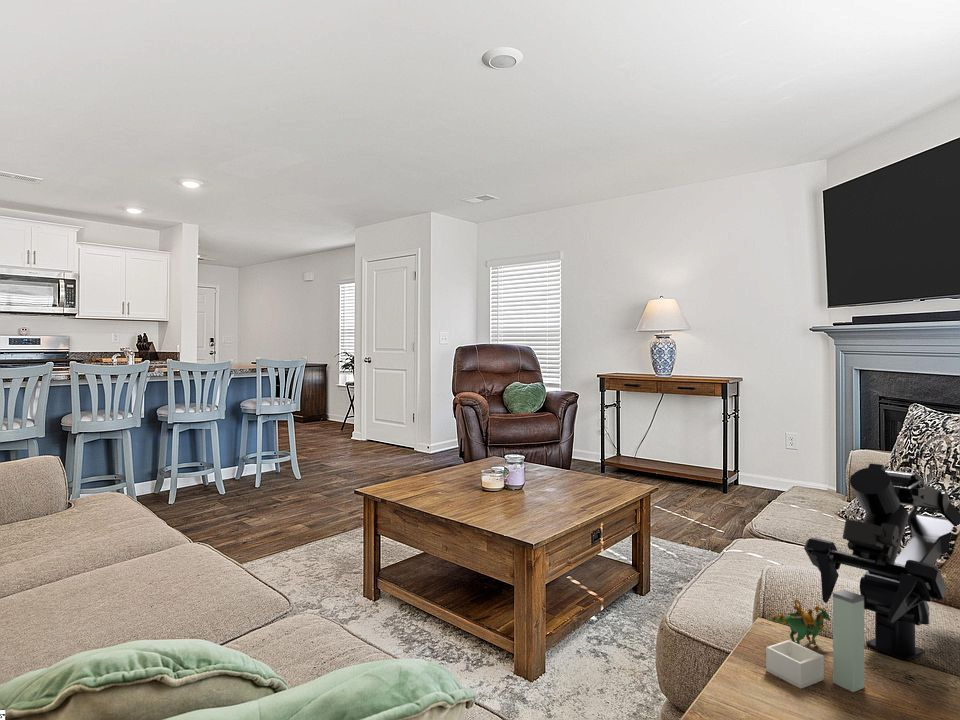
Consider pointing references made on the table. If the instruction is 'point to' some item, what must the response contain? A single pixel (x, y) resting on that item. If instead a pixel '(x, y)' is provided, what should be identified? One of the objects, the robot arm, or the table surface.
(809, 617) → the figurine
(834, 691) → the table surface
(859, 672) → the sage bracket post
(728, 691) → the table surface
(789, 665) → the ceramic well
